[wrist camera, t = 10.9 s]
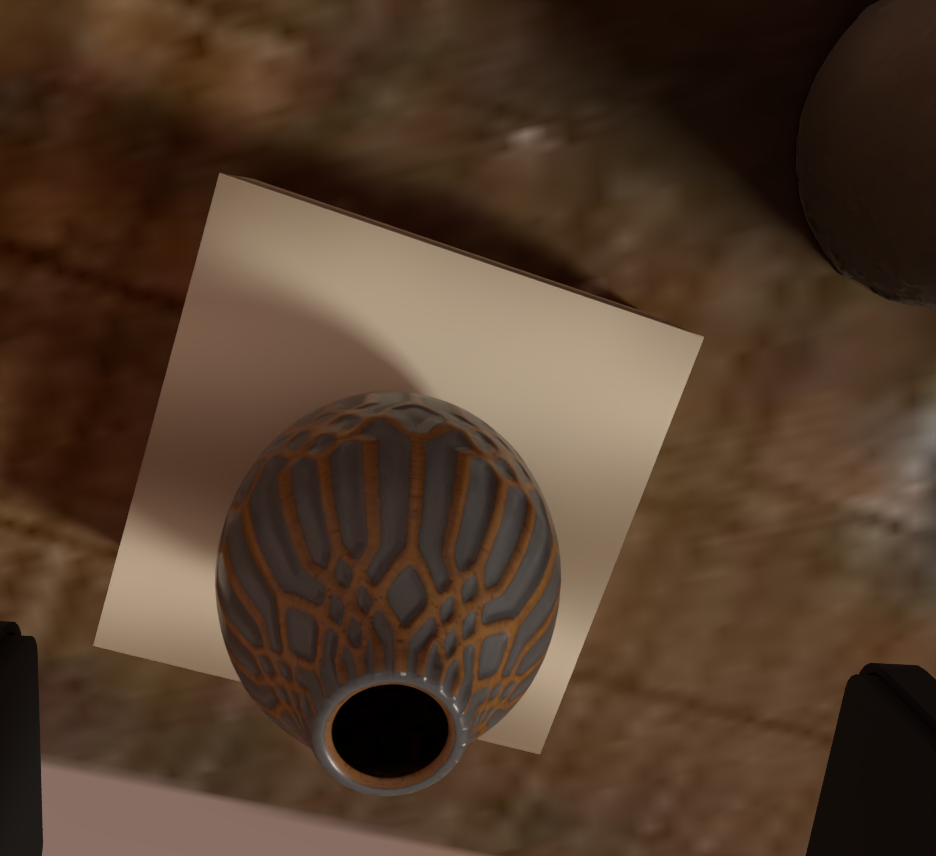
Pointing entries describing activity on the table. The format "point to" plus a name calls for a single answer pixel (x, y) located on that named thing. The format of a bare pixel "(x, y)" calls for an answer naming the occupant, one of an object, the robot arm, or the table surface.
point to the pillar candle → (876, 152)
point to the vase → (388, 585)
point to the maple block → (375, 370)
